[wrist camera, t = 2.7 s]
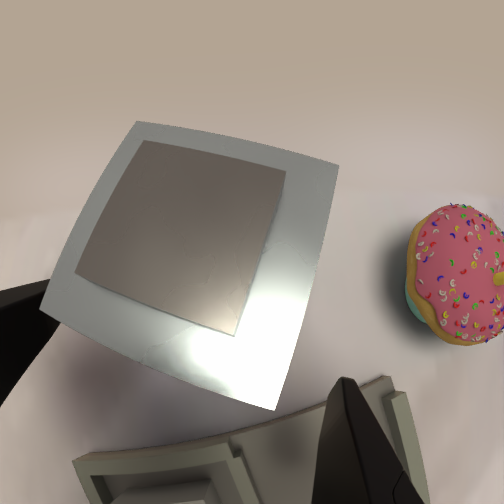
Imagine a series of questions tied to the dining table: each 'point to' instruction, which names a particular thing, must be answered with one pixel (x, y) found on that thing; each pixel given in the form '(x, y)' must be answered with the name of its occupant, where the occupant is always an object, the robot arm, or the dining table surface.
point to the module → (197, 257)
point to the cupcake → (457, 275)
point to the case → (245, 460)
